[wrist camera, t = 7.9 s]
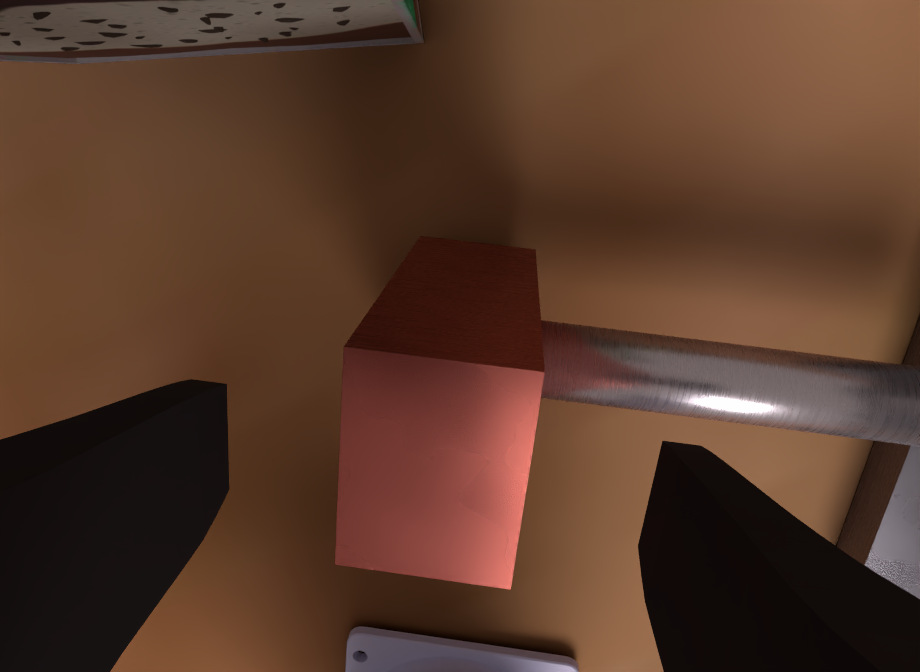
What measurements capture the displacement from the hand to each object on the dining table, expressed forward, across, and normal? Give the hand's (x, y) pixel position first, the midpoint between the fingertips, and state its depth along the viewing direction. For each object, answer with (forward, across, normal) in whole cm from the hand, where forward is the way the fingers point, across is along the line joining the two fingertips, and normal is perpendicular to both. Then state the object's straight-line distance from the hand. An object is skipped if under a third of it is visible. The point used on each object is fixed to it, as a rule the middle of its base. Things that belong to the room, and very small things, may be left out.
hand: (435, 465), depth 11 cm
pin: (+8, -5, 0) cm, 9 cm away
